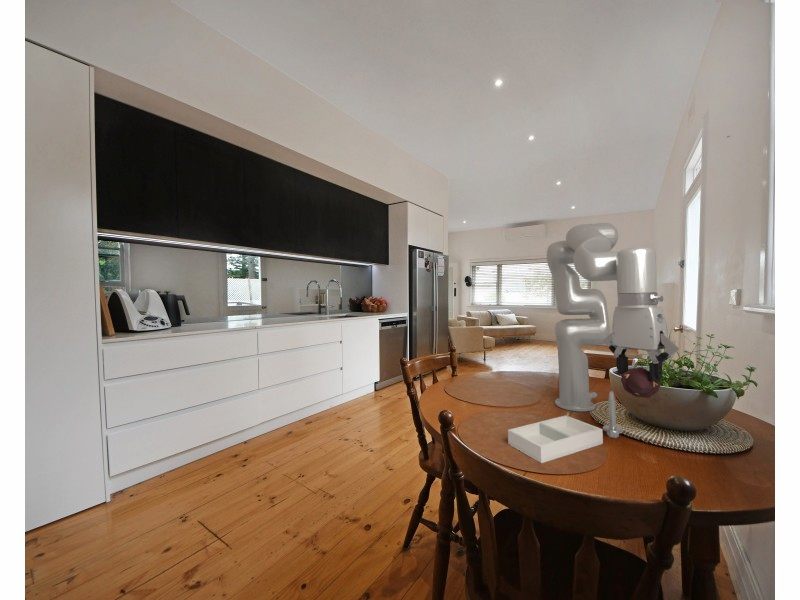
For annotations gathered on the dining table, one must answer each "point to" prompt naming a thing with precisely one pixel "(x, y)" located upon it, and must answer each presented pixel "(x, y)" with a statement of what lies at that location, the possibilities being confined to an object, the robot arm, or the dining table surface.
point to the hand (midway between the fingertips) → (638, 375)
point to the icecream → (639, 383)
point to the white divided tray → (554, 438)
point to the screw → (612, 419)
